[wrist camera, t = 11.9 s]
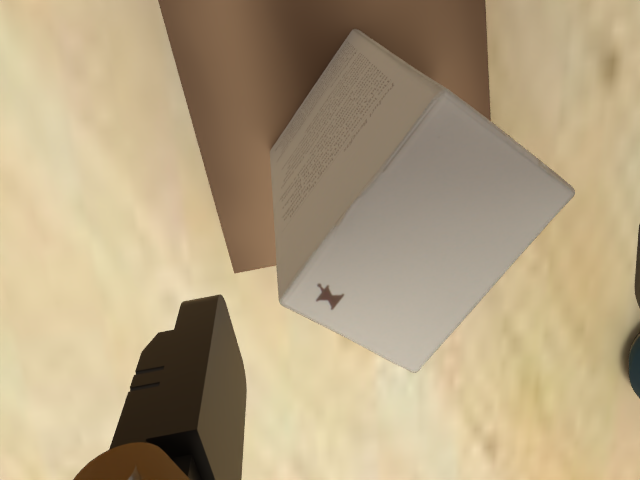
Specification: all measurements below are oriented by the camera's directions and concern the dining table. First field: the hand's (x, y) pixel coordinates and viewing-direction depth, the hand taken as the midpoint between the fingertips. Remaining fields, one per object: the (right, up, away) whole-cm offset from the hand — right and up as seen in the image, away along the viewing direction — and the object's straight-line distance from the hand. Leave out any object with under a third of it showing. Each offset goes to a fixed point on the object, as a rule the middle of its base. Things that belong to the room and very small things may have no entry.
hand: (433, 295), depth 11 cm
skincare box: (-1, +6, +13) cm, 14 cm away
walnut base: (-2, +8, +16) cm, 18 cm away
